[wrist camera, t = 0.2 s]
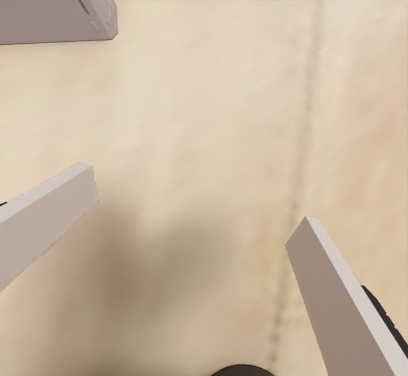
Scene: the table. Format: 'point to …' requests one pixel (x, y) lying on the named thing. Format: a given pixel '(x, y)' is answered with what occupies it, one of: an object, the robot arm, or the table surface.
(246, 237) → the table surface
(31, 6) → the game console
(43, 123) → the table surface
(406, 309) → the table surface
